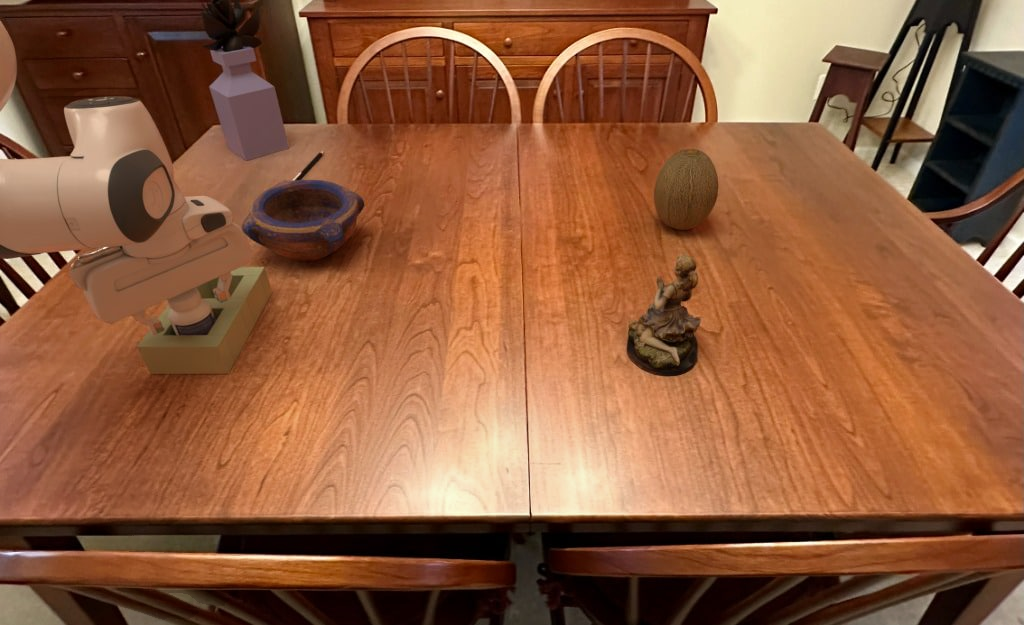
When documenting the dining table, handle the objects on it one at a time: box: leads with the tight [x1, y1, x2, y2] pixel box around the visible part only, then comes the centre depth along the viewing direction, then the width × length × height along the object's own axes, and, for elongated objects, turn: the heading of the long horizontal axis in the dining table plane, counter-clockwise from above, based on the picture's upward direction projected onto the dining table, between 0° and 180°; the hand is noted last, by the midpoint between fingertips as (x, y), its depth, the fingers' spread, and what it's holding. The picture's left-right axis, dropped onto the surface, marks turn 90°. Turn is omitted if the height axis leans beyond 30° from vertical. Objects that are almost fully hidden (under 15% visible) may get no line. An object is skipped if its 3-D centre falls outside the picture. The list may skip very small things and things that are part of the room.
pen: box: [291, 150, 324, 181], centre depth 135 cm, size 1×19×1 cm, turn 173°
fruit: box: [653, 148, 719, 231], centre depth 110 cm, size 11×11×15 cm
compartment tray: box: [136, 266, 273, 375], centre depth 89 cm, size 19×11×5 cm, turn 0°
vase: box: [200, 0, 290, 162], centre depth 135 cm, size 14×12×35 cm
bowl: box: [241, 179, 366, 262], centre depth 106 cm, size 18×18×10 cm
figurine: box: [626, 253, 702, 377], centre depth 83 cm, size 12×11×15 cm
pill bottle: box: [166, 288, 216, 335], centre depth 84 cm, size 5×5×10 cm
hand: (191, 315), depth 84 cm, fingers open, 8 cm apart
